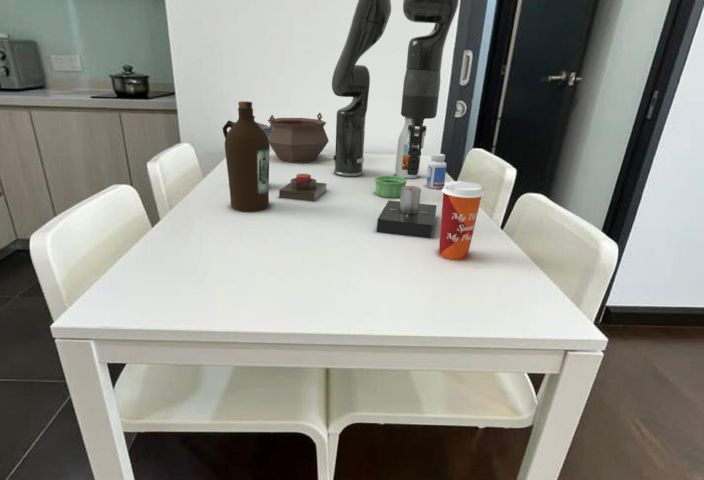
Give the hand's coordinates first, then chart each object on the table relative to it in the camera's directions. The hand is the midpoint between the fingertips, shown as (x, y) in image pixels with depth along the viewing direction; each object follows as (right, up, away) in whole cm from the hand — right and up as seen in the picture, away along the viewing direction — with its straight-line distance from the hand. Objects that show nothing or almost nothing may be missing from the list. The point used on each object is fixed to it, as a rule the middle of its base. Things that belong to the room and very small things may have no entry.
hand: (412, 170), depth 104 cm
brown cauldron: (-32, +20, +71) cm, 81 cm away
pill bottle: (+13, +4, +39) cm, 41 cm away
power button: (-26, +2, +24) cm, 36 cm away
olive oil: (-39, -6, +14) cm, 42 cm away
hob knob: (0, -9, +4) cm, 10 cm away
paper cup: (+6, -19, -11) cm, 23 cm away
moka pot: (-42, +2, +31) cm, 53 cm away
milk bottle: (+6, +9, +51) cm, 52 cm away
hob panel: (0, -11, +5) cm, 13 cm away
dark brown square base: (-26, -1, +26) cm, 37 cm away
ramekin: (-2, 0, +29) cm, 29 cm away
